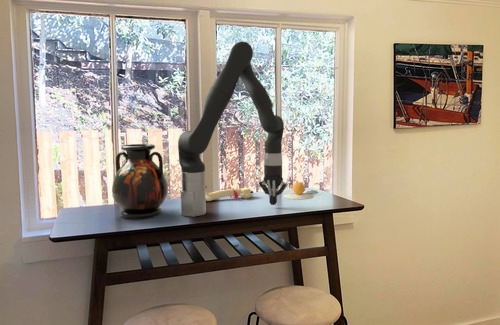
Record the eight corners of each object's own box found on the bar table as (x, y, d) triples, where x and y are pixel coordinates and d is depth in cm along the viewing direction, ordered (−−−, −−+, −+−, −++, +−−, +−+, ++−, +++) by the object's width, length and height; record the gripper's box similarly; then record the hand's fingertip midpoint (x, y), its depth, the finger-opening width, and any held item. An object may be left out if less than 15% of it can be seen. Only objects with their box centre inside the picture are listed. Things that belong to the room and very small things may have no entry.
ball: (306, 195, 210) (302, 194, 204) (294, 194, 212) (290, 193, 207) (307, 182, 210) (303, 182, 204) (295, 182, 212) (291, 181, 207)
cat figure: (204, 207, 191) (257, 198, 199) (202, 188, 189) (255, 179, 197) (199, 202, 200) (250, 194, 208) (197, 184, 199) (248, 176, 207)
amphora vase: (103, 221, 162) (99, 147, 159) (127, 208, 183) (124, 143, 180) (158, 222, 159) (155, 147, 156) (175, 209, 181) (173, 143, 177)
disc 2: (313, 194, 208) (313, 194, 208) (294, 192, 213) (294, 192, 213) (320, 191, 216) (320, 190, 216) (301, 189, 221) (301, 189, 221)
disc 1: (306, 200, 195) (306, 200, 195) (278, 197, 201) (278, 197, 201) (317, 194, 207) (317, 194, 207) (290, 192, 214) (290, 192, 214)
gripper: (254, 163, 178) (255, 204, 180) (283, 165, 172) (283, 208, 174) (263, 161, 185) (263, 201, 187) (291, 163, 178) (291, 204, 181)
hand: (273, 204), depth 180 cm, fingers closed
